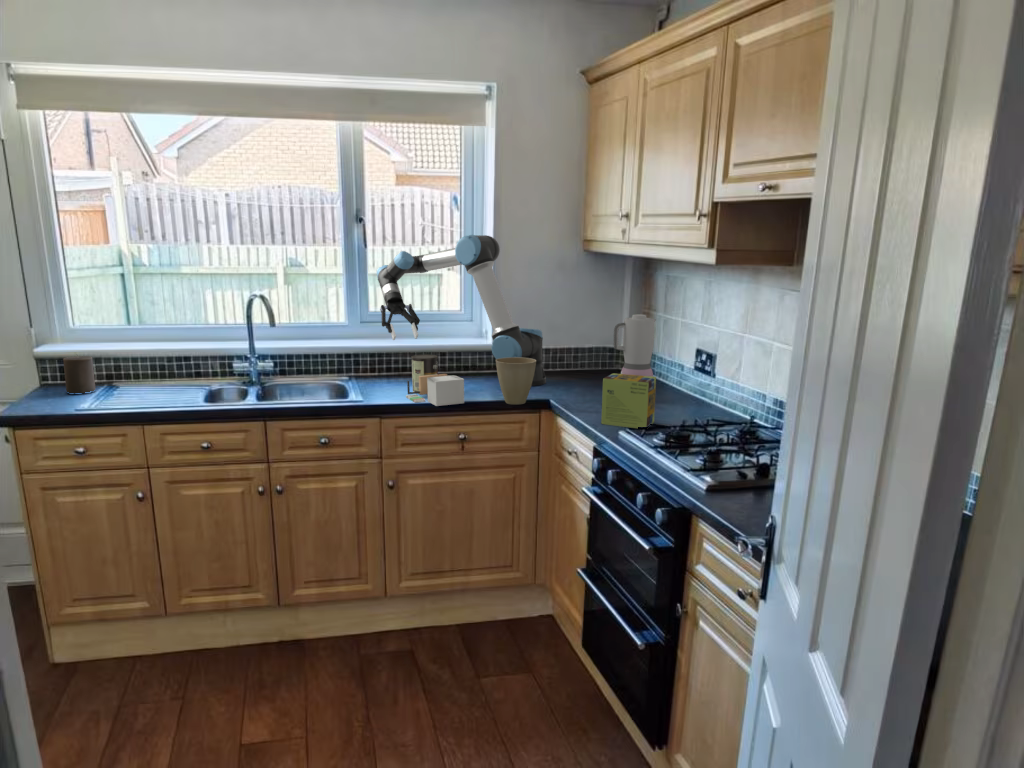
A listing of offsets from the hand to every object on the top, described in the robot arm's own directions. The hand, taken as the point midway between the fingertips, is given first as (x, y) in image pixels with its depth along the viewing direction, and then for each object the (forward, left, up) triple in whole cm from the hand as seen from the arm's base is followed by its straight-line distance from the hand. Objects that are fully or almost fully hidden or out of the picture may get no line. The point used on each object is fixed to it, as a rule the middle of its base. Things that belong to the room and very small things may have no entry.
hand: (405, 337), depth 290 cm
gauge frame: (+3, +38, -19) cm, 43 cm away
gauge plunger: (+2, +34, -18) cm, 38 cm away
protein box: (-42, +98, -19) cm, 108 cm away
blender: (-65, +70, -19) cm, 97 cm away
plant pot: (-23, +55, -19) cm, 62 cm away
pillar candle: (+120, -35, -19) cm, 127 cm away
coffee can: (0, +22, -19) cm, 29 cm away
